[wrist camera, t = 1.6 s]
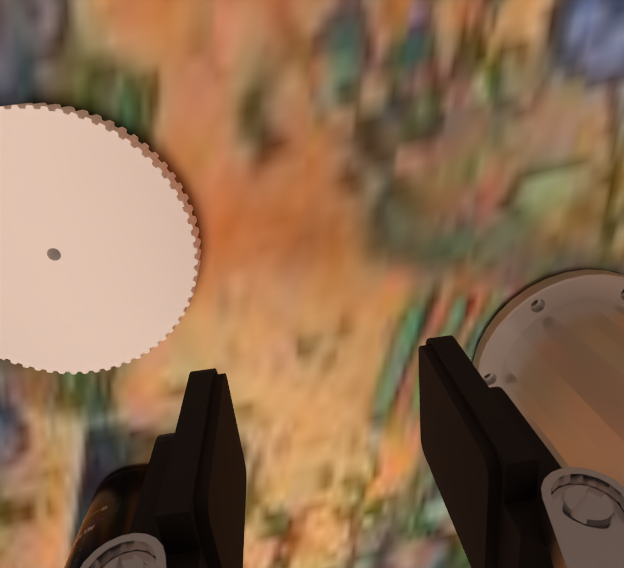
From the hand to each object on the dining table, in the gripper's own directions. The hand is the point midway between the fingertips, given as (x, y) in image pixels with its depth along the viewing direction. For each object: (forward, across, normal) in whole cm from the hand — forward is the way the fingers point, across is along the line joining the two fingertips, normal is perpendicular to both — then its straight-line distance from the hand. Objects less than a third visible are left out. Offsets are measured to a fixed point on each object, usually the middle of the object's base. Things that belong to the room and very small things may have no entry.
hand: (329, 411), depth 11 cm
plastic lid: (+18, +12, 0) cm, 21 cm away
